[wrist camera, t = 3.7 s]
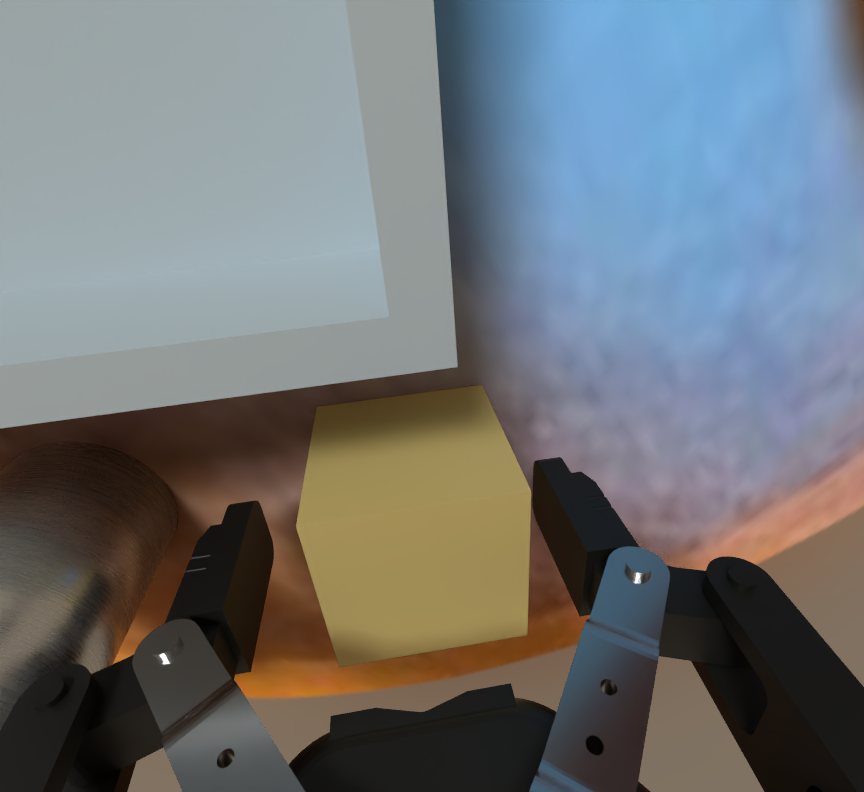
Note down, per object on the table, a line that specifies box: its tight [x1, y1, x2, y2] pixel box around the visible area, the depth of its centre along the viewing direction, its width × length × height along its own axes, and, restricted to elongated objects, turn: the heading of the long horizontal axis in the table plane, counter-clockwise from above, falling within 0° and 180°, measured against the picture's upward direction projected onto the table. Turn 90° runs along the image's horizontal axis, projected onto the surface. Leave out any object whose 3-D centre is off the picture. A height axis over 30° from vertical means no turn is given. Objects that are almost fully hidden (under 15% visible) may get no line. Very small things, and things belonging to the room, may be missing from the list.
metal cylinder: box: [0, 442, 178, 730], centre depth 12 cm, size 5×5×7 cm
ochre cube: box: [296, 385, 531, 667], centre depth 13 cm, size 5×5×5 cm
